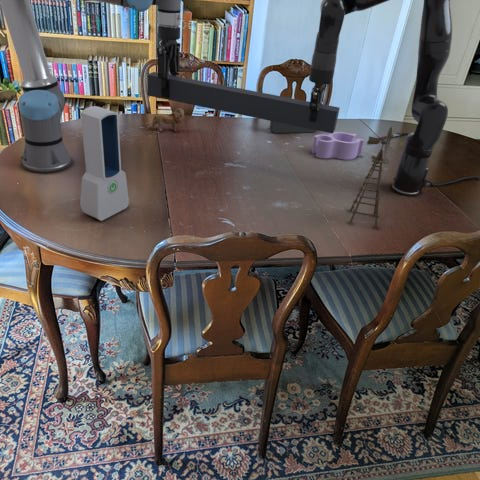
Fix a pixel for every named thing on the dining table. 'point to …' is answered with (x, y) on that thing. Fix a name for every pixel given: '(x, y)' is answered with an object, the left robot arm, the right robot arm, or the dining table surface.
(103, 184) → the electronic device
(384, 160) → the miniature windmill
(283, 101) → the bar
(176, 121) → the lion figurine
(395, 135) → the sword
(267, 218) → the dining table surface
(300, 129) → the handheld gaming console
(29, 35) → the left robot arm
